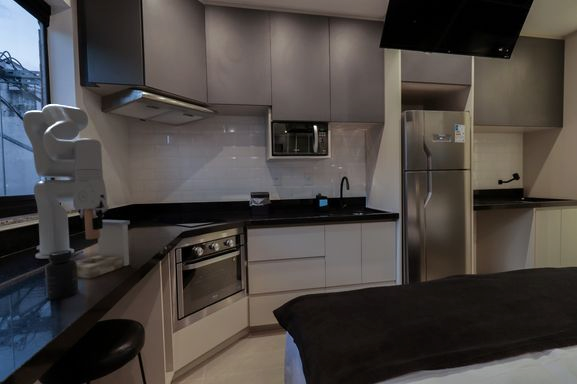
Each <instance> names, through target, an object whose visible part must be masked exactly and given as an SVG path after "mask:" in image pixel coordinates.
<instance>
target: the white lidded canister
mask: <svg viewBox="0 0 577 384" xmlns="http://www.w3.org/2000/svg"><path fill="white" fill-rule="evenodd" d="M102 222H103V228H102V229H100V238H97V243H98V255H101V256H112V257H122V267H126V266H129V265H130V255H129V254H130V251H129V232H128V231H129V228H128V226H129V225H130V223H131V221H130V220H120V219H119V220H118V219H102Z"/></svg>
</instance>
